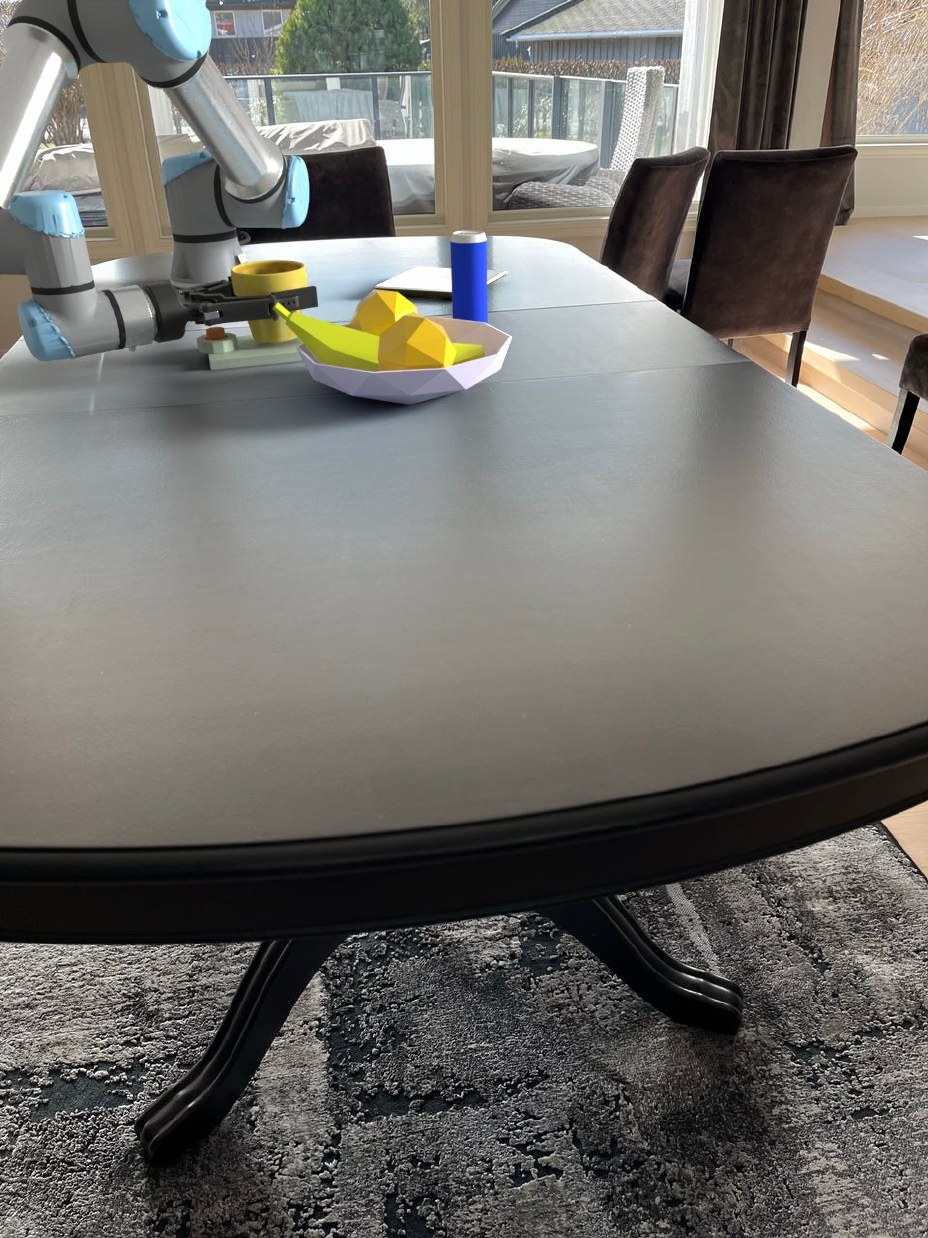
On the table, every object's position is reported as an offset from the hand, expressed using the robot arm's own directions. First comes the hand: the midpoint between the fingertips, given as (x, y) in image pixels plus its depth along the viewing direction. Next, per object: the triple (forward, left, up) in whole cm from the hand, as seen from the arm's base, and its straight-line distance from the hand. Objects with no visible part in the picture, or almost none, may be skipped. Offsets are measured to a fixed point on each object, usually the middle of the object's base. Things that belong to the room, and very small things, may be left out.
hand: (298, 290), depth 135 cm
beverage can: (+5, +24, -8) cm, 26 cm away
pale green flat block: (+1, -6, -8) cm, 10 cm away
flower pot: (+1, -4, -6) cm, 7 cm away
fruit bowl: (+24, +9, -8) cm, 27 cm away
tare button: (+1, -12, -6) cm, 14 cm away
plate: (-31, +29, -8) cm, 43 cm away
